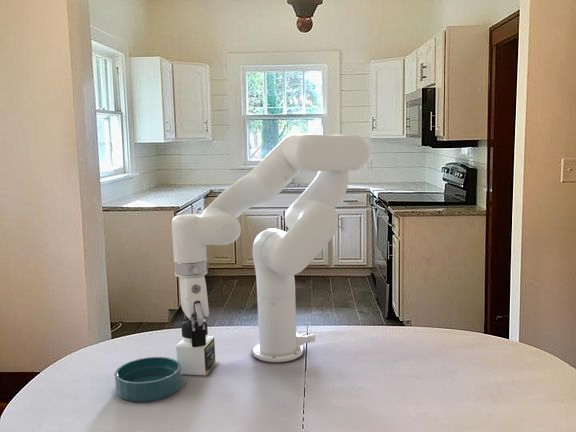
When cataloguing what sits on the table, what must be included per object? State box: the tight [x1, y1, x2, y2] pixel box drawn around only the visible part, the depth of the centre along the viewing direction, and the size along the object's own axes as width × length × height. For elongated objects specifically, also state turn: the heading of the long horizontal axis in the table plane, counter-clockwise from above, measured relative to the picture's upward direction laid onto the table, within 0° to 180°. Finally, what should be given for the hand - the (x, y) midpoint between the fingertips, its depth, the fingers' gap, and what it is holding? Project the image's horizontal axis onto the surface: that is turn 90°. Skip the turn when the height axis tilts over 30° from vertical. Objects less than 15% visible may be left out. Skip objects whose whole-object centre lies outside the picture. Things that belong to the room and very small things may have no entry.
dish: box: [114, 356, 183, 403], centre depth 134 cm, size 14×14×4 cm
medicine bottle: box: [175, 319, 217, 376], centre depth 143 cm, size 7×7×12 cm
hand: (195, 339), depth 142 cm, fingers closed on medicine bottle, 7 cm apart
